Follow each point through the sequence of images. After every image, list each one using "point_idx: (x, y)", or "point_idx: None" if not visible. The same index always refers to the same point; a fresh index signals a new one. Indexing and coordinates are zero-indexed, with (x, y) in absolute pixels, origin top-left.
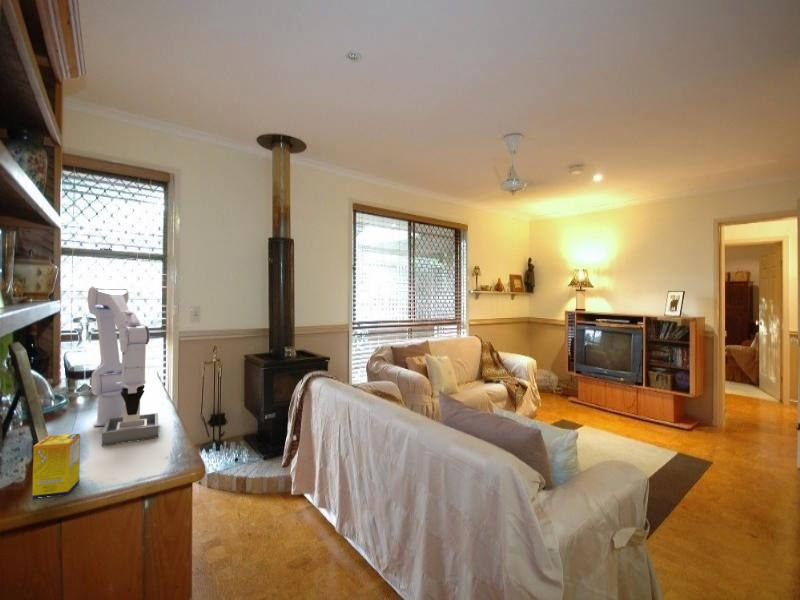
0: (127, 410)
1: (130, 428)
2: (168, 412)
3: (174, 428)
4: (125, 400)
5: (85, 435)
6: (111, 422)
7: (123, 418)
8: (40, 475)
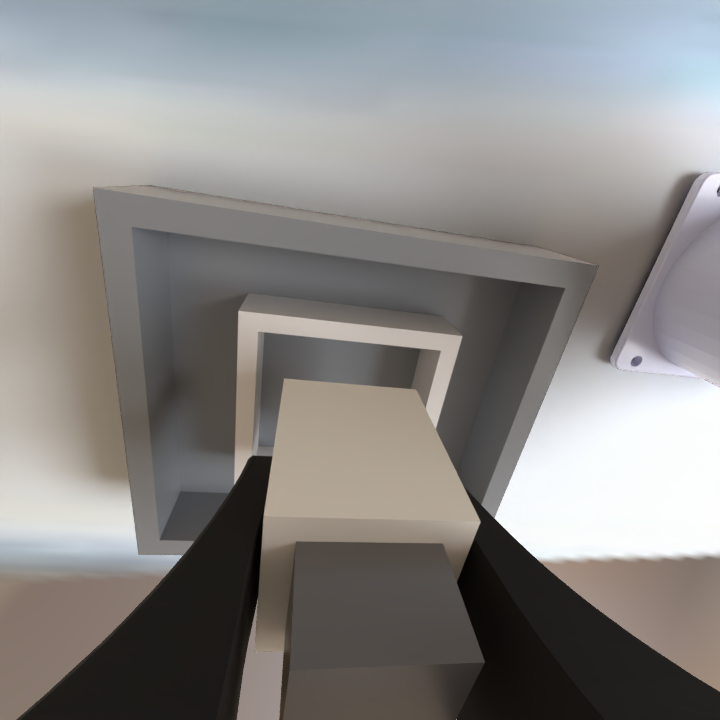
0: (232, 493)
1: (236, 400)
2: (623, 547)
3: None
4: (108, 643)
5: (527, 88)
6: (542, 290)
7: (282, 401)
8: None
